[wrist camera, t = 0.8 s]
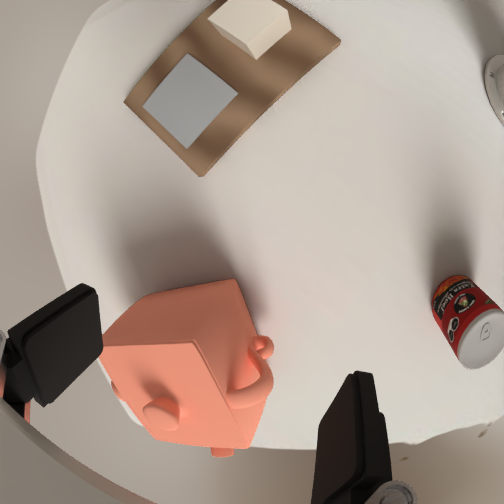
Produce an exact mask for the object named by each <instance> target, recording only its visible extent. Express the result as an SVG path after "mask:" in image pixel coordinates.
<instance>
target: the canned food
mask: <svg viewBox="0 0 504 504" xmlns="http://www.w3.org/2000/svg"><path fill="white" fill-rule="evenodd" d="M432 312H433V316H434V319H435V321H436V322H437V324H438V325H439V327H440V329H441V330H442V332H443V334H444V336H445V337H446V339H447V341H448V342H449V344H450V346H451V348H452V349H453V351H454V353H455V355H456V357H457V358H458V360H459V362H460V363H461V364H462V365H463V367H465V368H467V369H478V368H481V367H483V366H485V365H487V364H489V363H490V362H491V361H492V360H494V359H495V358H496V357H497V356H498V354H499V353H500V352H501V350H502V349H503V347H504V312H503V311H502V309H501V308H500V307H499V306H498V305H497V304H496V303H495V302H494V301H493V300H492V299H491V298H490V297H489V296H488V295H486V294H485V293H484V292H483V291H482V290H481V289H480V288H479V287H478V286H477V285H476V284H475V283H474V282H473V281H471V280H470V279H469V278H467V277H465V276H460V275H456V276H452V277H449V278H448V279H446V280H445V281H444V282H442V283H441V285H440V286H439V287H438V289H437V290H436V292H435V294H434V297H433V300H432Z"/></svg>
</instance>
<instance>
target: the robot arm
mask: <svg viewBox="0 0 504 504" xmlns="http://www.w3.org/2000/svg"><path fill="white" fill-rule="evenodd" d="M485 85H486V90H487V94H488V97H489V100H490V102H491V105H492V107H493V109H494V111H495V113H496V115H497V116H498V118H499V120H500V121H501V122H502V124H503V125H504V55H503V54H500V55H496V56H494V57H492V58H491V59H490V60H489V61H488V63H487V65H486V68H485ZM8 335H9V338H8V339H6V336H5V334H4V333H3V332H2V331H1V330H0V504H157V503H154V502H152V501H150V500H148V499H145V498H143V497H141V496H139V495H137V494H135V493H133V492H131V491H129V490H127V489H125V488H123V487H121V486H119V485H117V484H115V483H114V482H112V481H110V480H108V479H106V478H105V477H103V476H101V475H100V474H98V473H96V472H95V471H93V470H91V469H90V468H88V467H87V466H85V465H84V464H82V463H81V462H79V461H78V460H76V459H75V458H73V457H72V456H70V455H69V454H67V453H66V452H65V451H63V450H62V449H60V448H59V447H58V446H56V445H55V444H54V443H52V442H51V441H50V440H49V439H47V438H46V437H45V436H43V435H42V434H41V433H40V432H39V431H37V430H36V429H35V428H34V427H33V426H31V425H30V401H31V399H32V398H33V397H34V399H35V401H36V402H38V403H39V404H40V405H41V406H43V407H45V406H46V405H47V404H48V403H52V402H54V400H55V399H56V398H57V397H58V396H59V395H60V394H61V393H62V392H63V391H64V390H65V389H66V388H67V387H68V386H69V385H70V384H71V383H72V382H73V381H74V380H75V379H76V378H77V377H78V376H79V375H80V374H81V373H82V372H83V371H84V370H85V369H86V368H87V367H88V366H89V365H90V364H92V363H93V362H94V360H96V359H97V358H98V357H99V356H100V355H101V353H102V351H103V339H102V331H101V322H100V312H99V301H98V295H97V294H96V290H95V289H94V288H92V287H90V286H88V285H86V284H84V283H81V284H79V285H77V286H76V287H74V288H72V289H71V290H69V291H67V292H66V293H65V294H63V295H61V296H60V297H58V298H56V299H55V300H53V301H52V302H50V303H48V304H47V305H45V306H44V307H42V308H41V309H39V310H38V311H36V312H35V313H33V314H31V315H30V316H28V317H27V318H26V319H24V320H22V321H21V322H20V323H18V324H17V325H15V326H14V327H12V328H11V329H9V330H8ZM311 504H417V495H416V493H415V491H414V489H413V488H412V487H411V486H410V485H409V484H407V483H405V482H403V481H398V480H394V481H392V471H391V461H390V452H389V444H388V436H387V429H386V423H385V417H384V415H383V413H381V412H379V408H378V402H377V395H376V390H375V384H374V378H373V375H372V373H367V372H362V371H355V372H354V373H353V374H348V376H347V377H346V379H345V381H344V383H343V385H342V386H341V388H340V390H339V392H338V393H337V395H336V397H335V398H334V400H333V402H332V403H331V405H330V407H329V408H328V410H327V412H326V413H325V415H324V416H323V418H322V420H321V421H320V424H319V428H318V440H317V452H316V463H315V473H314V482H313V490H312V499H311Z"/></svg>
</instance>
